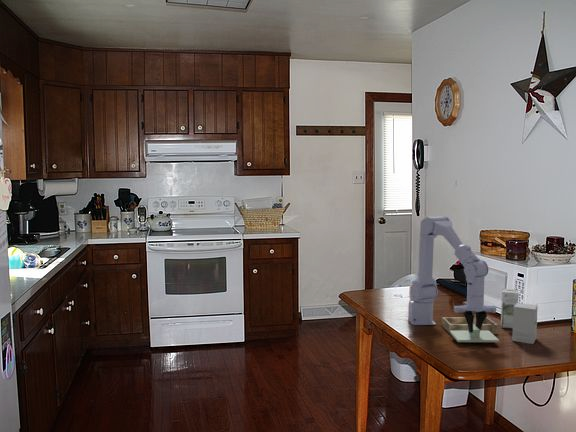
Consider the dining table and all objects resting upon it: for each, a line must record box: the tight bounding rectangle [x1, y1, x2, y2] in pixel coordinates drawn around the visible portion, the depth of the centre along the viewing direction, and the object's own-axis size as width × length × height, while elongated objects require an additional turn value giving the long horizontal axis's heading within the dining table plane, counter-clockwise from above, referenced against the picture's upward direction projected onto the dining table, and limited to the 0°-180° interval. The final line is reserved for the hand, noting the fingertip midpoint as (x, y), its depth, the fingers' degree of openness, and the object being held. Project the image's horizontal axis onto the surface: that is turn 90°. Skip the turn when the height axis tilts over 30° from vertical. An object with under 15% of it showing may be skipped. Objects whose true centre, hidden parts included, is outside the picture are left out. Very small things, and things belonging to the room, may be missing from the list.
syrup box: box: [500, 288, 519, 330], centre depth 209 cm, size 6×6×14 cm
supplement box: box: [511, 302, 539, 345], centre depth 194 cm, size 7×7×13 cm
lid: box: [450, 324, 500, 343], centre depth 192 cm, size 14×10×4 cm, turn 90°
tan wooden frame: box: [441, 316, 499, 336], centre depth 206 cm, size 18×13×5 cm
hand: (474, 331), depth 192 cm, fingers closed on lid, 2 cm apart
